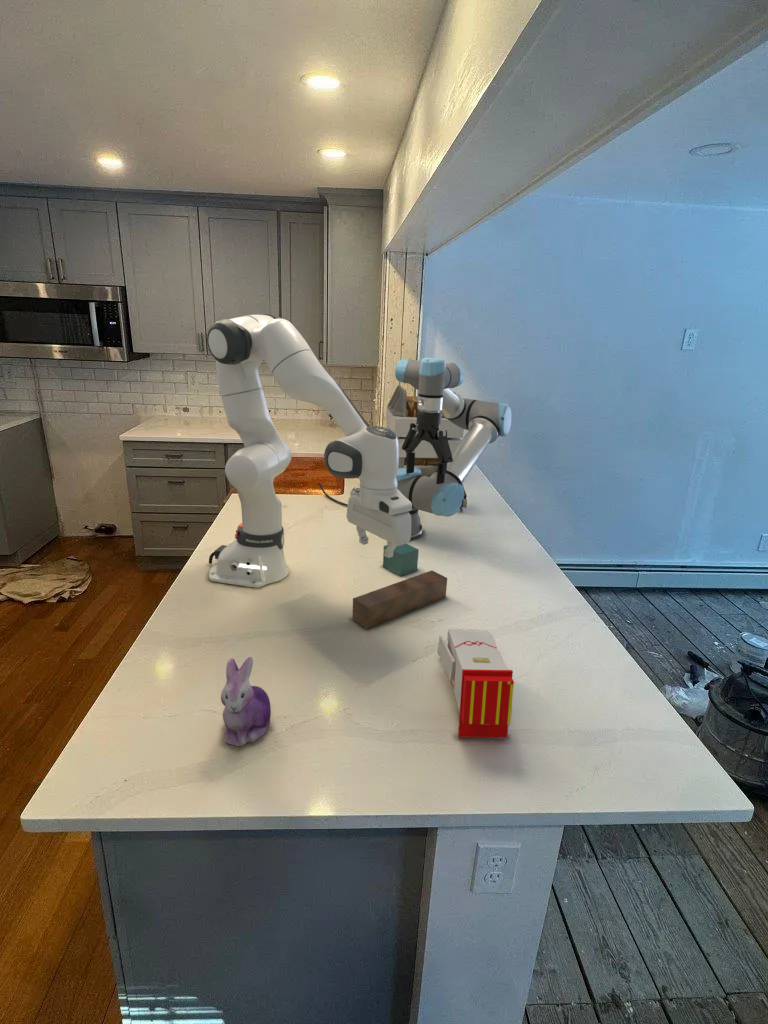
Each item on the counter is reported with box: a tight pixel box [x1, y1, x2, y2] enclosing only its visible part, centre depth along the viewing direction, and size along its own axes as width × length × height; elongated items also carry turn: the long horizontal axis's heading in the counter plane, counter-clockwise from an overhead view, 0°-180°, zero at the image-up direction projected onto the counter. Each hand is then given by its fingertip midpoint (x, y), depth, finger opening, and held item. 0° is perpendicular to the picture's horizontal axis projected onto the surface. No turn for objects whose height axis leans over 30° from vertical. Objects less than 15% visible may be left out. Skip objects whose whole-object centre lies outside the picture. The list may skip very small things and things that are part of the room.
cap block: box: [382, 543, 420, 577], centre depth 172 cm, size 7×8×7 cm
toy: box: [437, 628, 515, 738], centre depth 117 cm, size 12×13×30 cm
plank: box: [351, 570, 448, 630], centre depth 150 cm, size 28×6×6 cm, turn 130°
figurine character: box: [459, 486, 468, 512], centre depth 228 cm, size 7×8×15 cm
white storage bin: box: [385, 384, 465, 468], centre depth 268 cm, size 34×33×41 cm
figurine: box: [220, 656, 272, 747], centre depth 102 cm, size 9×10×15 cm
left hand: (375, 549), depth 139 cm, fingers open, 8 cm apart
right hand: (424, 478), depth 179 cm, fingers open, 13 cm apart
